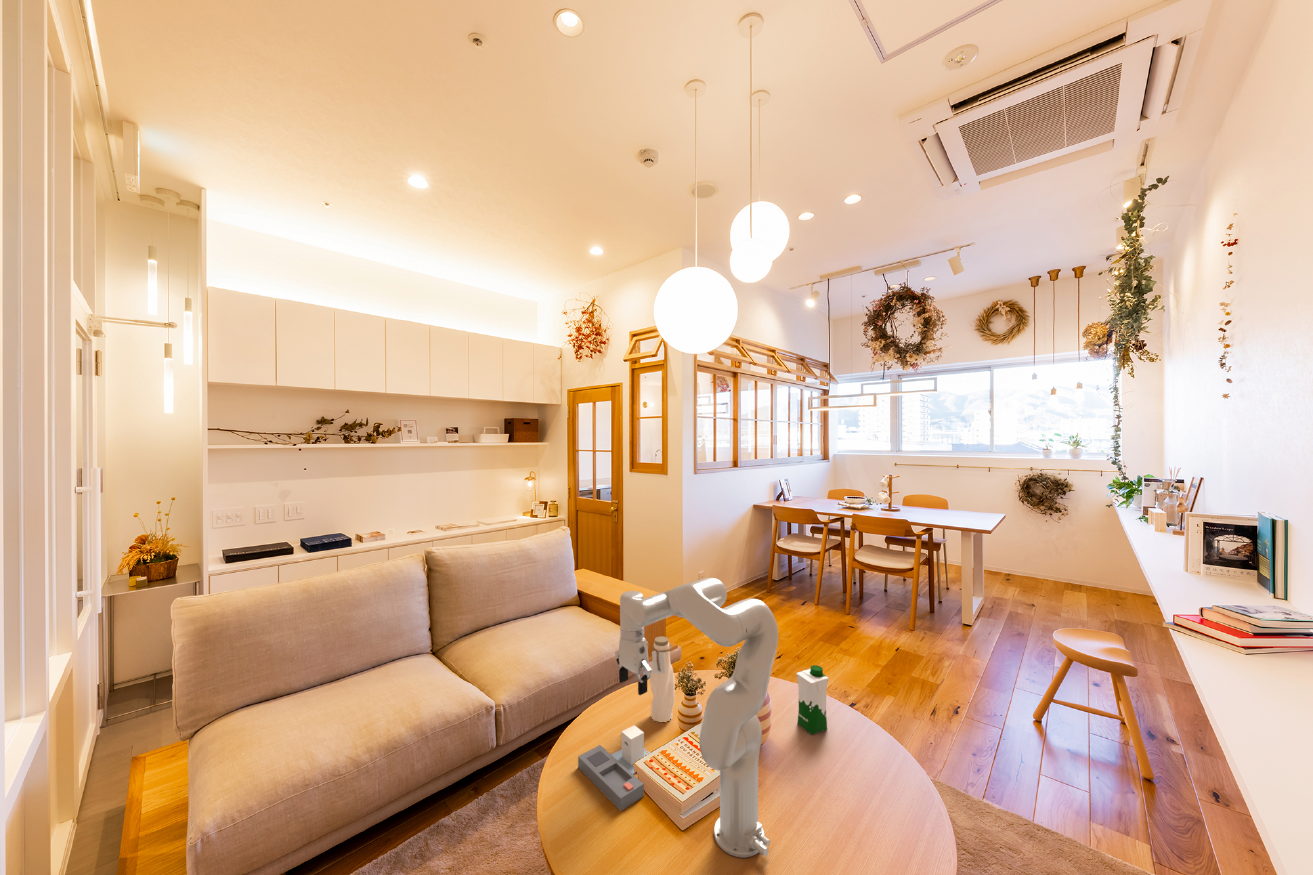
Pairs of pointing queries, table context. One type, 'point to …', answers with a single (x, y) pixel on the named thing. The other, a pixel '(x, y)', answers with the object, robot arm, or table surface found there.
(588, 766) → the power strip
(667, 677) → the water bottle
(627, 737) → the block
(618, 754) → the coaster
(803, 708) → the milk carton
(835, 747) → the table surface
